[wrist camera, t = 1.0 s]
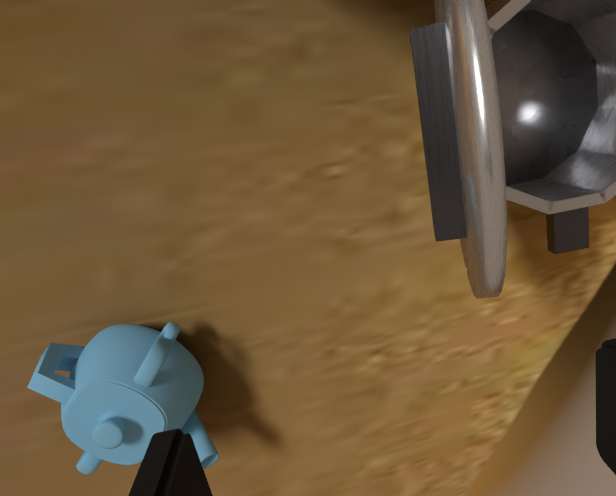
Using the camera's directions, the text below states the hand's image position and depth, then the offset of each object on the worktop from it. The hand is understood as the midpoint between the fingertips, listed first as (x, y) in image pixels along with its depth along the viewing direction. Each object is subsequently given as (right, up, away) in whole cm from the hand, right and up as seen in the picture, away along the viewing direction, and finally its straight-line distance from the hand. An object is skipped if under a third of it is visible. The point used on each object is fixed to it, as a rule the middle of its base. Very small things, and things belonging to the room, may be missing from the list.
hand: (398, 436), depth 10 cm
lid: (+7, +11, +16) cm, 21 cm away
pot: (+18, +19, +35) cm, 44 cm away
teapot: (-20, -10, +41) cm, 47 cm away
